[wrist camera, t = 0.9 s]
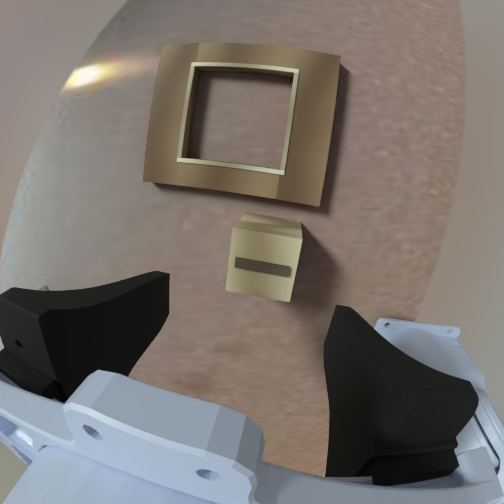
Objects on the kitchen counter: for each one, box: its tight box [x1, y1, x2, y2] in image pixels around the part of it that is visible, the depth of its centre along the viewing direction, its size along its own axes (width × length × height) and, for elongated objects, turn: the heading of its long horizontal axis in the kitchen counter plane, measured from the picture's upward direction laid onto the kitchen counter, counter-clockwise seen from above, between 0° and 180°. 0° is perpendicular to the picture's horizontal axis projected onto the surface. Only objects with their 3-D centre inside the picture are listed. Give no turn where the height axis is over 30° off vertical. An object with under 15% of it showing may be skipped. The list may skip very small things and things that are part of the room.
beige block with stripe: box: [226, 213, 303, 302], centre depth 19 cm, size 4×4×5 cm
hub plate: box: [143, 43, 341, 207], centre depth 18 cm, size 13×11×1 cm
